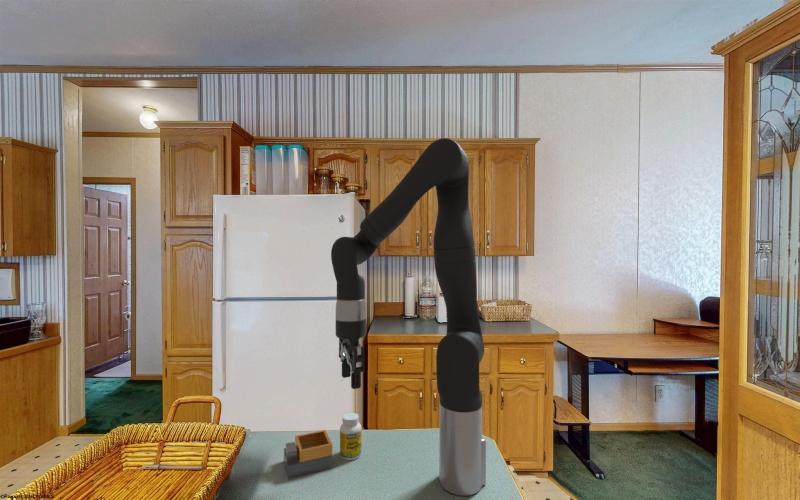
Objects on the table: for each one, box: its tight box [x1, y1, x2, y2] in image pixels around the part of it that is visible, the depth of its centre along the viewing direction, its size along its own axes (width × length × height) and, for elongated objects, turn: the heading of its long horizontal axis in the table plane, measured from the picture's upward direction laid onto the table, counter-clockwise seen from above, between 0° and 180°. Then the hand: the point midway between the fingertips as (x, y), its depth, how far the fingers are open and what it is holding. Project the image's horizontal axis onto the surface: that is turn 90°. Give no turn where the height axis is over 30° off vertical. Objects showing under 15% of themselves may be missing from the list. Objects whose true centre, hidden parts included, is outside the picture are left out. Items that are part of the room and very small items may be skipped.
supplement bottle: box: [339, 412, 363, 461], centre depth 89 cm, size 5×5×10 cm
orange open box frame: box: [283, 429, 333, 480], centre depth 84 cm, size 10×8×6 cm
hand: (350, 382), depth 89 cm, fingers open, 8 cm apart
